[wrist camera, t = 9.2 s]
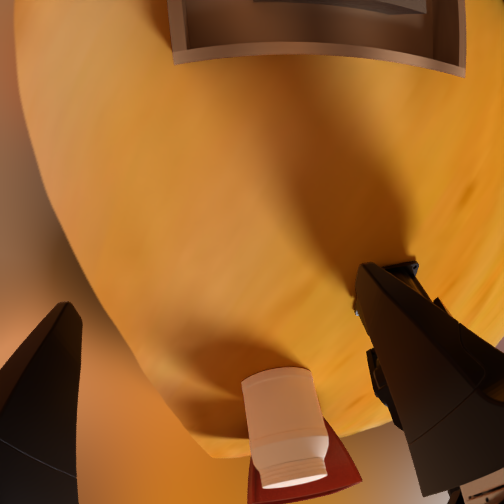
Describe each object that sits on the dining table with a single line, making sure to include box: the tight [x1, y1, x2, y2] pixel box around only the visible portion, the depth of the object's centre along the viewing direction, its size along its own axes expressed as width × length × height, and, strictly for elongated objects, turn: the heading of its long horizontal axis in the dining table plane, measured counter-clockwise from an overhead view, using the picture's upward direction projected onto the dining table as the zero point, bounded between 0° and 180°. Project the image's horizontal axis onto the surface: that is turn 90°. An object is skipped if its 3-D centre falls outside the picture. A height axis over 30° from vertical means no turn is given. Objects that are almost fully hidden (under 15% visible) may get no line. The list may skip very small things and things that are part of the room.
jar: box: [241, 367, 329, 489], centre depth 34 cm, size 12×10×15 cm
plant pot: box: [247, 417, 362, 504], centre depth 47 cm, size 19×19×17 cm
